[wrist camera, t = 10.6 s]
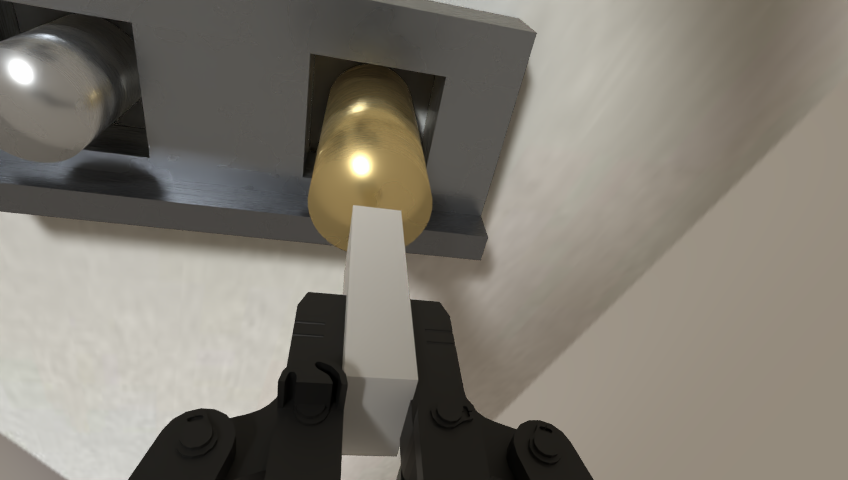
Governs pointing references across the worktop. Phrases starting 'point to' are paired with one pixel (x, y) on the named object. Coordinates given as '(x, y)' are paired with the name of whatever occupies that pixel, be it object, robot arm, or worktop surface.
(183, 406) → the worktop surface
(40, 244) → the worktop surface
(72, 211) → the jig
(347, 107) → the gold metal cylinder
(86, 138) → the silver metal cylinder
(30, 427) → the worktop surface
